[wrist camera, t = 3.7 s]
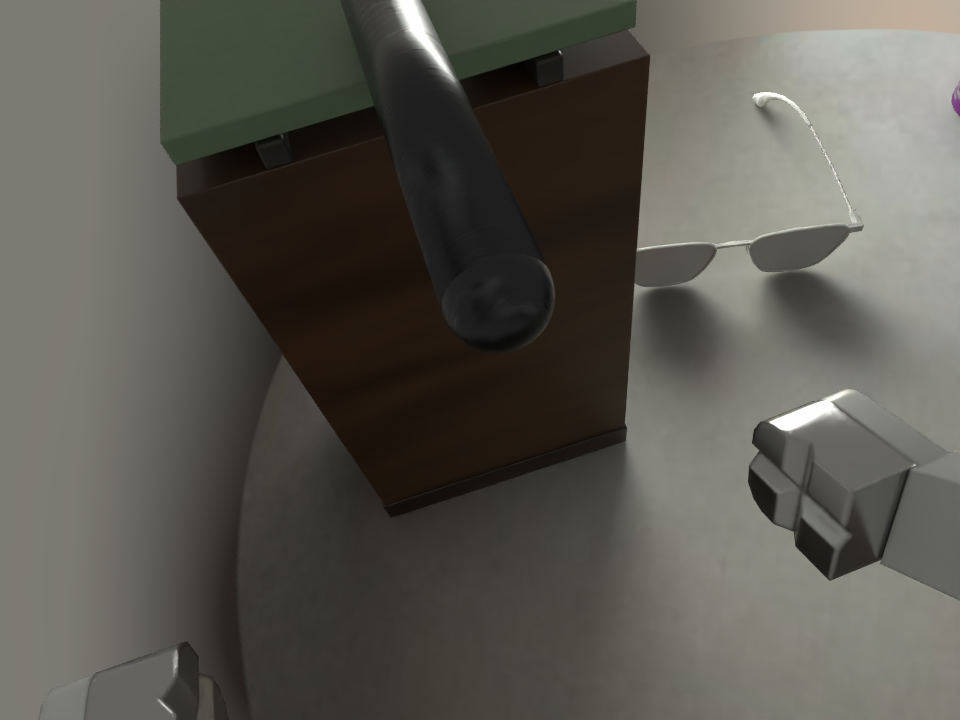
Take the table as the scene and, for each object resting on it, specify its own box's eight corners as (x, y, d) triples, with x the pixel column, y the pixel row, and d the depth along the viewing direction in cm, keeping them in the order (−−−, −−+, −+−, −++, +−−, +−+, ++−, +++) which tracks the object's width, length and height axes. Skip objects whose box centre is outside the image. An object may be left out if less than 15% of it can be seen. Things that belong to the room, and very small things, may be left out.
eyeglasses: (608, 296, 45) (609, 254, 42) (575, 125, 55) (574, 82, 52) (849, 266, 44) (869, 221, 40) (769, 97, 54) (780, 50, 50)
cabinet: (626, 441, 39) (657, 28, 19) (390, 518, 38) (157, 179, 18) (565, 311, 45) (538, -110, 24) (359, 376, 44) (158, 0, 24)
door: (852, 290, 13) (907, 175, 11) (182, 506, 12) (87, 435, 10) (528, -104, 24) (520, -200, 22) (171, 0, 24) (126, -88, 21)
